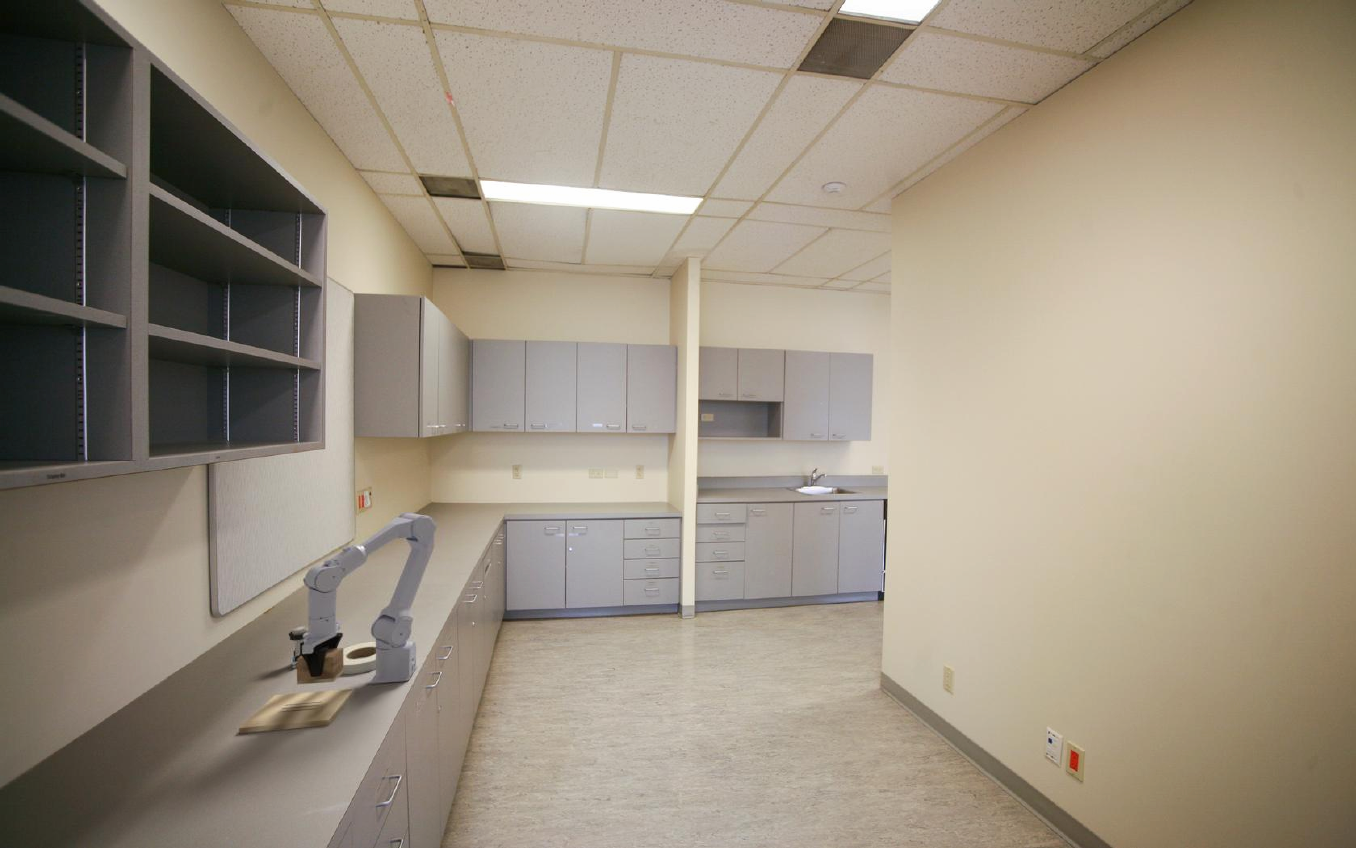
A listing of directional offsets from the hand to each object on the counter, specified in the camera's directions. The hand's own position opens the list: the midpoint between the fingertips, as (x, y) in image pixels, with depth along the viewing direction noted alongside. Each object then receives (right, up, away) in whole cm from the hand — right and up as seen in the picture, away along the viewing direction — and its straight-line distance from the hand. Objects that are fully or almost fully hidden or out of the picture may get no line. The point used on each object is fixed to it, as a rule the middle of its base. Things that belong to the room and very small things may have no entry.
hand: (322, 670), depth 127 cm
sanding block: (0, -2, 0) cm, 2 cm away
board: (-3, -9, -3) cm, 10 cm away
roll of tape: (-4, -9, +23) cm, 25 cm away
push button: (-21, -8, +21) cm, 31 cm away
